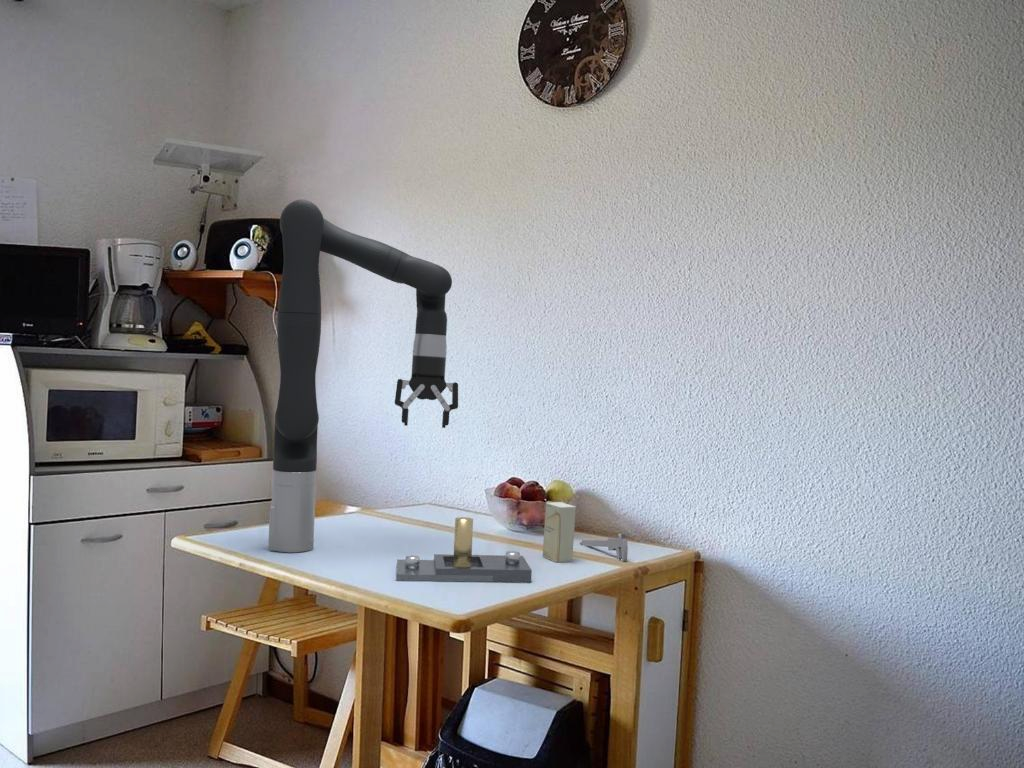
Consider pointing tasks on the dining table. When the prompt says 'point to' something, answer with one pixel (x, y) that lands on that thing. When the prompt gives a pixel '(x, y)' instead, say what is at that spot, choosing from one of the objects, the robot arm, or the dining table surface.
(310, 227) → the robot arm
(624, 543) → the caliper
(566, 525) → the skincare box
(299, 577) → the dining table surface
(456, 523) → the pin
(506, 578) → the chain end upper
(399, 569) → the chain end lower
